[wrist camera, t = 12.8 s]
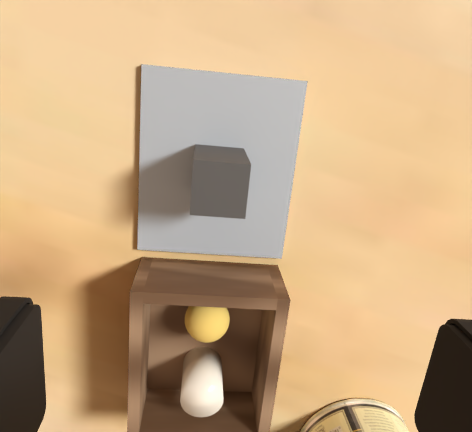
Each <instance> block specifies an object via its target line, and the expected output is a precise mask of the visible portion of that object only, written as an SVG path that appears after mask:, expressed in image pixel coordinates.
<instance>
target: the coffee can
mask: <svg viewBox="0 0 472 432" xmlns="http://www.w3.org/2000/svg"><path fill="white" fill-rule="evenodd" d="M300 432H409V431H408V429H407V427H406V424H405V422H404V420H403V418H402V417H401V416H400V414H399V413H398V412H397V411H396V410H395V409H394V408H392V407H391V406H389V405H387V404H385V403H383V402H380V401H377V400H373V399H362V398H358V399H356V398H354V399H348V400H343V401H339V402H336V403H333V404H331V405H328V406H327V407H325V408H323V409H322V410H320V411H318V412H317V413H316V414H314V415H313V416H312V417H311V418H310V419H309V420H308V421H307V422H306V424H305V425H304V426H303V428H302V429H301V431H300Z"/></svg>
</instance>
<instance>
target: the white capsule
mask: <svg viewBox="0 0 472 432" xmlns="http://www.w3.org/2000/svg"><path fill="white" fill-rule="evenodd" d="M180 403H181V406H182V408H183V410H184V411H185V412H186V413H188V414H189V415H191V416H194V417H208V416H211V415H213V414H215V413H216V412H218V411H219V410H220V408H221V407H222V405H223V380H222V361H221V357H220V355H219V354H218V352H216V351H215V350H214V349H212V348H209V347H197V348H194V349H192V350H190V351H189V352H188V353H187V354H186V355H185V357H184V361H183V372H182V385H181V397H180Z"/></svg>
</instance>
